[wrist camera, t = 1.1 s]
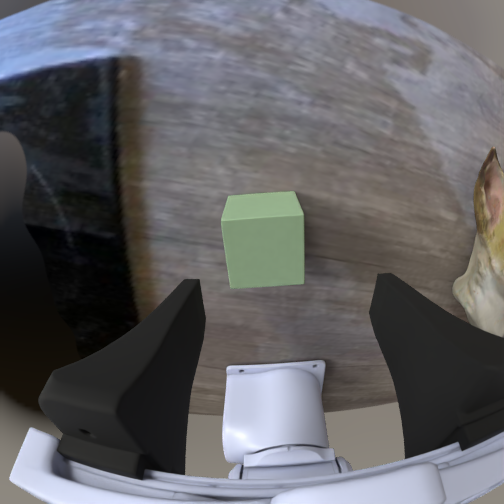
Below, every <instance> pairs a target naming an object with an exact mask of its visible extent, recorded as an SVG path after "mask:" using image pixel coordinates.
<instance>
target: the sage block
mask: <svg viewBox="0 0 504 504" xmlns="http://www.w3.org/2000/svg"><path fill="white" fill-rule="evenodd" d="M221 226H222V233H223V240H224V247H225V254H226V261H227V268H228V275H229V281H230V288H231V289H238V288H254V287H270V286H284V285H298V284H304V283H305V236H304V213H303V211H302V208H301V206H300V204H299V201H298V199H297V196H296V194H295V191H288V192H272V193H258V194H245V195H233V196H228V199H227V202H226V205H225V209H224V212H223V215H222V219H221Z"/></svg>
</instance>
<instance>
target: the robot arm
mask: <svg viewBox="0 0 504 504" xmlns="http://www.w3.org/2000/svg"><path fill="white" fill-rule="evenodd" d="M369 314H370V318H371V322H372V326H373V330H374V333H375V336H376V338H377V341H378V343H379V346H380V348H381V350H382V353H383V355H384V358H385V360H386V363H387V365H388V368H389V370H390V373H391V376H392V379H393V382H394V386H395V390H396V394H397V398H398V403H399V408H400V414H401V420H402V427H403V436H404V446H405V459H404V460H400V461H396V462H393V463H388V464H384V465H380V466H376V467H371V468H366V469H361V470H355V471H353V470H352V467H351V465H350V463H349V462H347V461H346V460H345V459H344V458H343V457H336V458H335V453H334V448H329V443H328V436H327V429H326V423H325V417H324V410H323V404H322V398H321V394H322V387H323V381H324V374H325V366H326V364H325V361H324V360H314V361H304V362H292V363H278V364H261V365H235V366H228V367H227V370H226V372H227V384H226V395H225V405H224V416H223V449H224V454H225V458H226V460H227V461H228V462H230V463H239V464H237V465H236V466H235V467H234V468H233V469H232V470H231V471H230V472H229V475H228V479H224V478H208V477H197V476H187V475H185V454H186V436H187V424H188V413H189V404H190V395H191V389H192V384H193V380H194V376H195V372H196V368H197V364H198V360H199V356H200V352H201V348H202V344H203V339H204V331H205V322H206V317H205V311H204V305H203V299H202V292H201V286H200V280H199V279H184V280H183V281H182V282H181V283H180V284H179V285H178V286H177V288H176V289H175V290H174V291H173V292H172V293H171V294H170V295H169V296H168V297H167V298H166V299H165V300H164V301H163V302H162V303H161V304H160V305H159V306H158V307H157V308H156V309H155V310H154V311H153V312H152V313H151V314H149V315H148V316H147V317H146V318H145V319H144V320H143V321H142V322H141V323H139V324H138V325H137V326H136V327H134V328H133V329H132V330H130V331H129V332H128V333H126V334H125V335H124V336H122V337H121V338H119V339H118V340H116V341H115V342H113V343H111V344H110V345H108V346H107V347H105V348H103V349H102V350H100V351H98V352H96V353H94V354H92V355H90V356H88V357H86V358H84V359H82V360H80V361H78V362H75V363H73V364H70V365H68V366H65V367H62V368H60V369H57V370H54V371H53V372H52V374H51V376H50V378H49V380H48V381H47V383H46V385H45V387H44V389H43V391H42V393H41V395H40V397H39V404H40V407H41V409H42V410H43V412H44V413H45V414H46V416H47V417H48V418H49V419H50V420H51V421H52V422H53V423H54V424H55V425H56V427H57V428H58V429H59V430H60V431H61V432H62V433H63V436H62V438H61V440H59V439H58V438H56V437H54V436H52V435H50V434H47V433H45V432H42V431H40V430H37V429H35V428H30V429H29V431H28V433H27V436H26V438H25V440H24V443H23V445H22V448H21V450H20V452H19V455H18V457H17V459H16V462H15V465H14V467H13V470H12V472H11V475H10V478H9V479H10V481H11V482H13V483H14V484H15V485H17V486H19V487H20V488H22V489H23V490H25V491H26V492H28V493H30V494H31V495H33V496H35V497H37V498H38V499H40V500H42V501H43V502H46V503H47V504H468V503H470V502H471V501H473V500H475V499H477V498H479V497H480V496H483V495H484V494H486V493H488V492H490V491H491V490H493V489H495V488H496V487H498V486H500V485H501V484H503V483H504V338H503V337H500V336H497V335H494V334H491V333H489V332H486V331H484V330H482V329H479V328H477V327H475V326H473V325H471V324H469V323H467V322H465V321H463V320H461V319H459V318H457V317H456V316H454V315H452V314H450V313H449V312H447V311H445V310H444V309H442V308H441V307H439V306H438V305H436V304H435V303H433V302H432V301H430V300H429V299H427V298H426V297H425V296H423V295H422V294H420V293H419V292H418V291H416V290H415V289H414V288H412V287H411V286H409V285H408V284H407V283H405V282H404V281H402V280H401V279H400V278H398V277H397V276H395V275H393V274H392V273H383V274H378V276H377V280H376V285H375V290H374V294H373V298H372V303H371V307H370V311H369ZM241 464H244V465H241Z"/></svg>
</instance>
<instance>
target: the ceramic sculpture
mask: <svg viewBox="0 0 504 504" xmlns="http://www.w3.org/2000/svg"><path fill="white" fill-rule="evenodd" d="M474 210H475V218H476V224H477V234H476V238H475V242H474V247H473V252H472V255H471V258H470V261H469V265H468V268H467V271H466V273H465V274H464V275H463V276H461V277H458V278H457V279H456V280H455V282H454V283H453V289H452V291H453V295H454V297H455V299H456V300H457V301H458V302H460V303H461V305H462V306H463V308H464V309H465V312H466V315H467V318H468V321H469V322H470V324H471V325H473V326H475V327H477V328H479V329H482V330H484V331H486V332H489V333H491V334H494V335H497V336H500V337H503V335H504V174H503V171H502V169H501V167H500V164H499V162H498V158H497V153H496V149H495V147H492V148H491V150H490V152H489V154H488V156H487V158H486V160H485V162H484V163H483V165H482V167H481V170H480V172H479V176H478V179H477V182H476V184H475V188H474Z"/></svg>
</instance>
